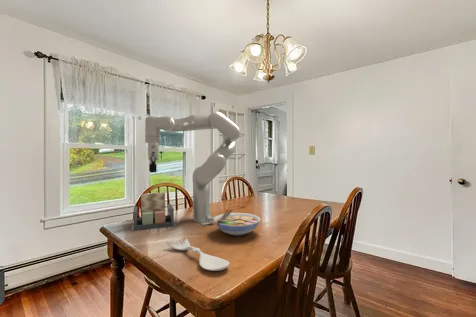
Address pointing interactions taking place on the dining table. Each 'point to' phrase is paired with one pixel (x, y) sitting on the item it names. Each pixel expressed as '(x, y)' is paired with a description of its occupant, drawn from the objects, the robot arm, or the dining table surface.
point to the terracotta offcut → (159, 217)
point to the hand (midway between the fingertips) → (152, 171)
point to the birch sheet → (152, 203)
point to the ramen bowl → (236, 223)
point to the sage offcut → (147, 218)
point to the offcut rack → (138, 221)
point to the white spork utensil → (202, 256)
